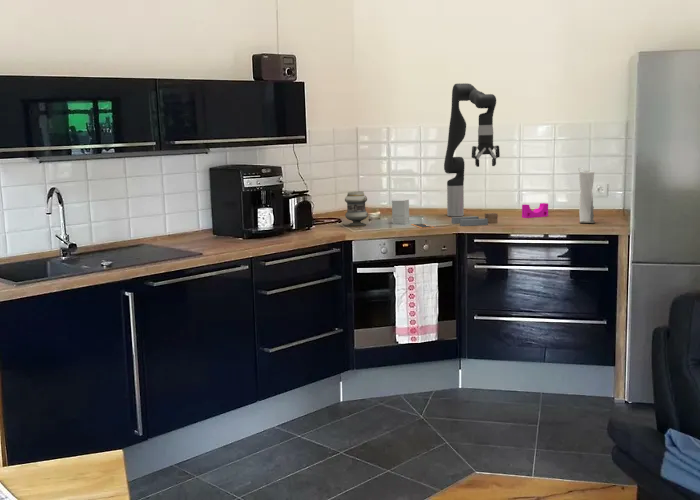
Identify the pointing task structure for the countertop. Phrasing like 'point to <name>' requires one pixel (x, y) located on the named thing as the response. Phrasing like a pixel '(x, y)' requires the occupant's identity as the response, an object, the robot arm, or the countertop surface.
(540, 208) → the toy block
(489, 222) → the walnut cube
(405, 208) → the supplement box
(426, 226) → the trap pit
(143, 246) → the countertop surface
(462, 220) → the grey flat slab
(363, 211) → the apothecary jar
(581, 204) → the skyscraper
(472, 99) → the robot arm
